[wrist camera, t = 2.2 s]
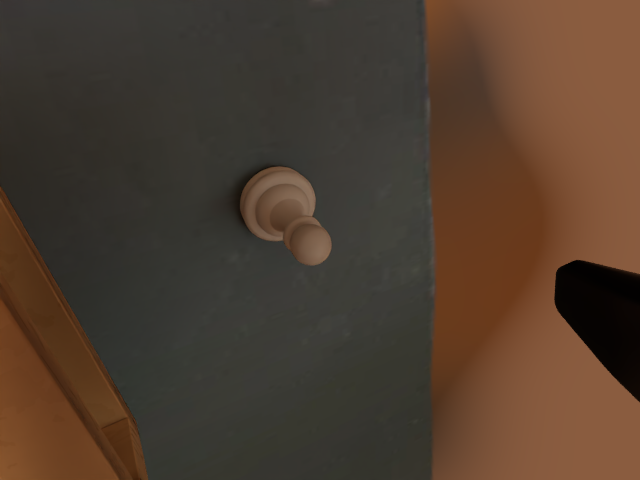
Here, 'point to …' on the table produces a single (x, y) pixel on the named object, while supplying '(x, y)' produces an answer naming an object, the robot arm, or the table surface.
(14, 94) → the table surface
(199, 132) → the table surface
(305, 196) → the pawn
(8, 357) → the shelf
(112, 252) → the table surface
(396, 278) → the table surface
